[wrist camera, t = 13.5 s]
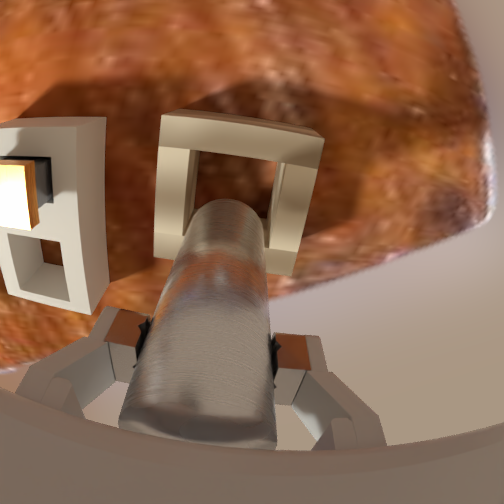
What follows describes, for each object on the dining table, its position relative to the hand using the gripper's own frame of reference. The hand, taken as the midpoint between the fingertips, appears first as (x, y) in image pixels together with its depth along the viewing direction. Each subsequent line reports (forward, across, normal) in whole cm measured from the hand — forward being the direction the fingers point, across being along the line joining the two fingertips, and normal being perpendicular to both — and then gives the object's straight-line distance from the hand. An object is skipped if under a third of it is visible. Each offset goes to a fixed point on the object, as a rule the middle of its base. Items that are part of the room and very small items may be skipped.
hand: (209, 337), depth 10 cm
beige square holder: (+17, 0, 0) cm, 17 cm away
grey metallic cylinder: (+8, 0, 0) cm, 8 cm away
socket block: (+17, +16, +4) cm, 24 cm away
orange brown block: (+16, +16, 0) cm, 22 cm away
